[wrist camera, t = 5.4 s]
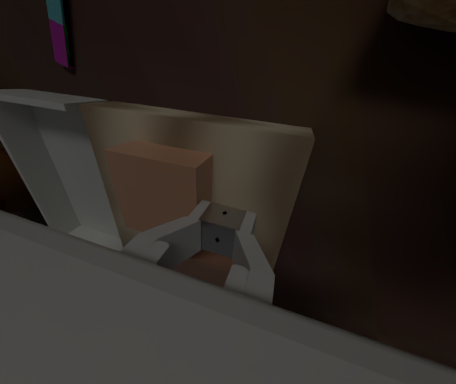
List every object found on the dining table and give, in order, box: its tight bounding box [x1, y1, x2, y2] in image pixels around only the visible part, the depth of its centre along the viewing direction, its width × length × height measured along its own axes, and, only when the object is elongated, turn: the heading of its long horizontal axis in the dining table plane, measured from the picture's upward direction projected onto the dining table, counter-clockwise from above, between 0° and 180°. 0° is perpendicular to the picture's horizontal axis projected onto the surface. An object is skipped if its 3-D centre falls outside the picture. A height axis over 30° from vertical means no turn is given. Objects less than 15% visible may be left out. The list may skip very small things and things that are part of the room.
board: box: [79, 101, 315, 271], centre depth 14 cm, size 13×14×2 cm
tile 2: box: [172, 249, 233, 287], centre depth 13 cm, size 5×5×2 cm
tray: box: [0, 89, 123, 251], centre depth 16 cm, size 8×14×3 cm, turn 175°
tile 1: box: [103, 140, 213, 232], centre depth 11 cm, size 5×5×2 cm
